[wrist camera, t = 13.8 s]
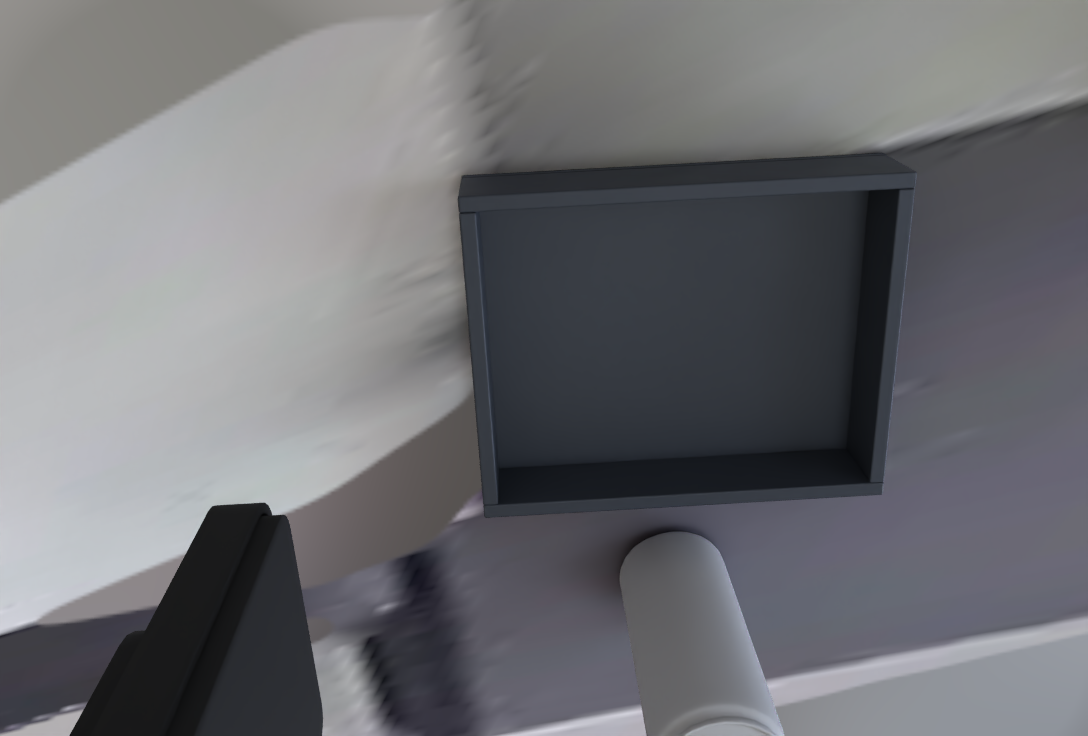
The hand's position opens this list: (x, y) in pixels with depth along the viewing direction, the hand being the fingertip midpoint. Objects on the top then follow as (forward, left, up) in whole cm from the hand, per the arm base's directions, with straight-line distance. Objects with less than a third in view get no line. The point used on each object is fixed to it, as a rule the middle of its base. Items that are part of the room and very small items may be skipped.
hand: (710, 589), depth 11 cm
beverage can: (+20, +4, -28) cm, 35 cm away
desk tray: (+8, +4, -28) cm, 30 cm away
